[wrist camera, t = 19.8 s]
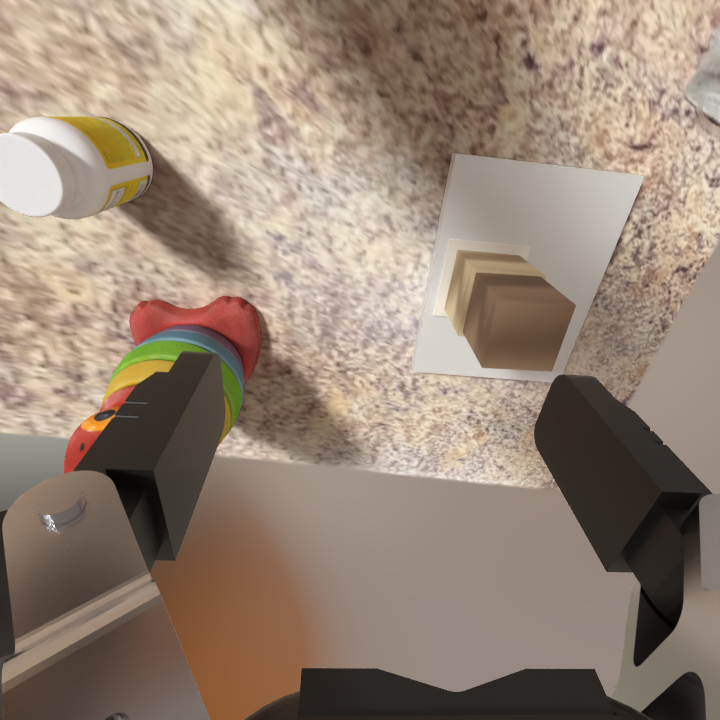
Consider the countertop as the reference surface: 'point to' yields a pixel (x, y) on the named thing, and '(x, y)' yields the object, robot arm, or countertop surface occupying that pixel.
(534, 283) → the walnut block
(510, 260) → the oak block
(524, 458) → the countertop surface
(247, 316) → the stacking bear
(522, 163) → the build board
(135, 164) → the supplement bottle
